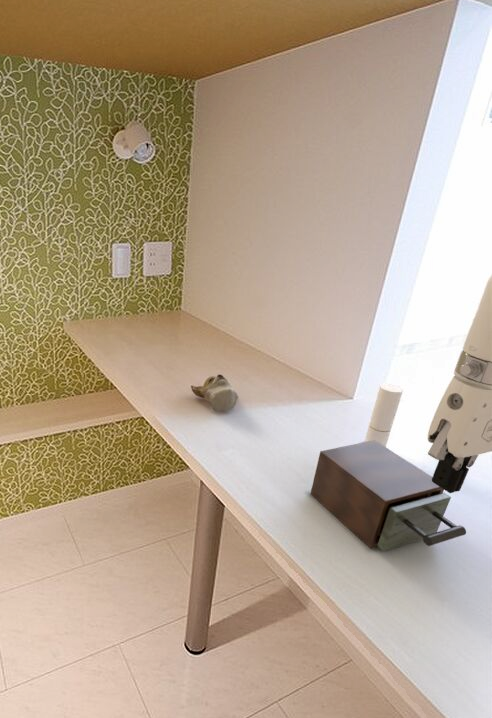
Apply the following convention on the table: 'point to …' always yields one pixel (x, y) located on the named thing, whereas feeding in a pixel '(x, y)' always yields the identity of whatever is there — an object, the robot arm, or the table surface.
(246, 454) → the table surface
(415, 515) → the drawer
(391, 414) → the tube
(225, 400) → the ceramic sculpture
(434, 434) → the robot arm
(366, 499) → the cabinet
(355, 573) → the table surface
